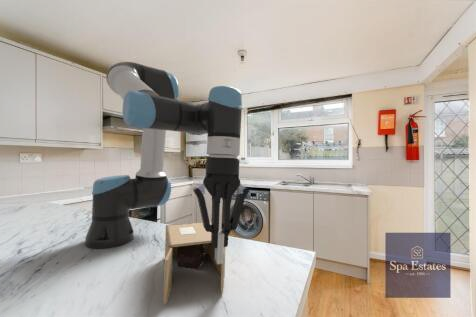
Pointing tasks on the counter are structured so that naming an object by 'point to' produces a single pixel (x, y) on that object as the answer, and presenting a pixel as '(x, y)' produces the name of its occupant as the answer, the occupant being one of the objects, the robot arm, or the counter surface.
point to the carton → (189, 239)
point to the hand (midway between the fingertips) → (218, 261)
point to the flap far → (222, 273)
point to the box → (190, 256)
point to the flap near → (168, 275)
